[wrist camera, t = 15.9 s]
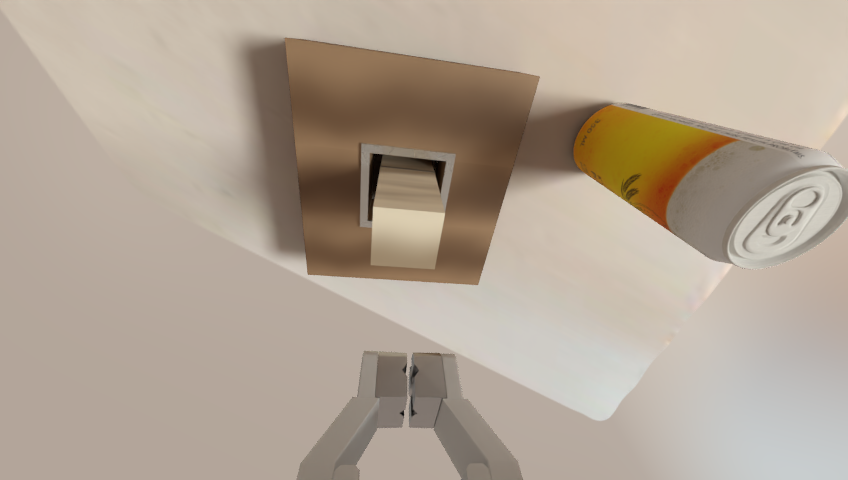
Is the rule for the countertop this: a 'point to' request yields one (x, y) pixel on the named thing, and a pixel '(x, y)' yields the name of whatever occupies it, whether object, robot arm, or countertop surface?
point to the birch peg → (406, 214)
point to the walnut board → (401, 150)
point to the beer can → (716, 183)
